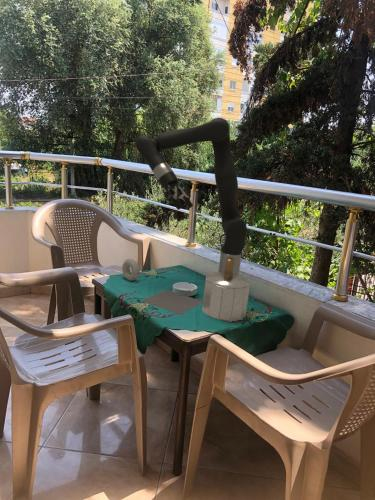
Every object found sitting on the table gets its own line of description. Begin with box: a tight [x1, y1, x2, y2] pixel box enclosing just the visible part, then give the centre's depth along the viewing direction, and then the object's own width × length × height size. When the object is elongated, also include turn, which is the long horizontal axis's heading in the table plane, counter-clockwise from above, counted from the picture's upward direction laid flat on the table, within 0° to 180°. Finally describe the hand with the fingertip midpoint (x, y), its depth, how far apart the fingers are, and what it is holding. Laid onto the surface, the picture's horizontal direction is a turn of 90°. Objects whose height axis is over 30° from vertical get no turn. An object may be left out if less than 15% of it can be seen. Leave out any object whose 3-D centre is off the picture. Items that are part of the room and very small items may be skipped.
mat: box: [140, 289, 203, 315], centre depth 164 cm, size 18×19×1 cm
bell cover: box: [201, 258, 251, 323], centre depth 156 cm, size 17×17×22 cm
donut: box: [121, 258, 140, 282], centre depth 184 cm, size 10×4×10 cm, turn 48°
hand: (185, 207), depth 168 cm, fingers open, 8 cm apart
